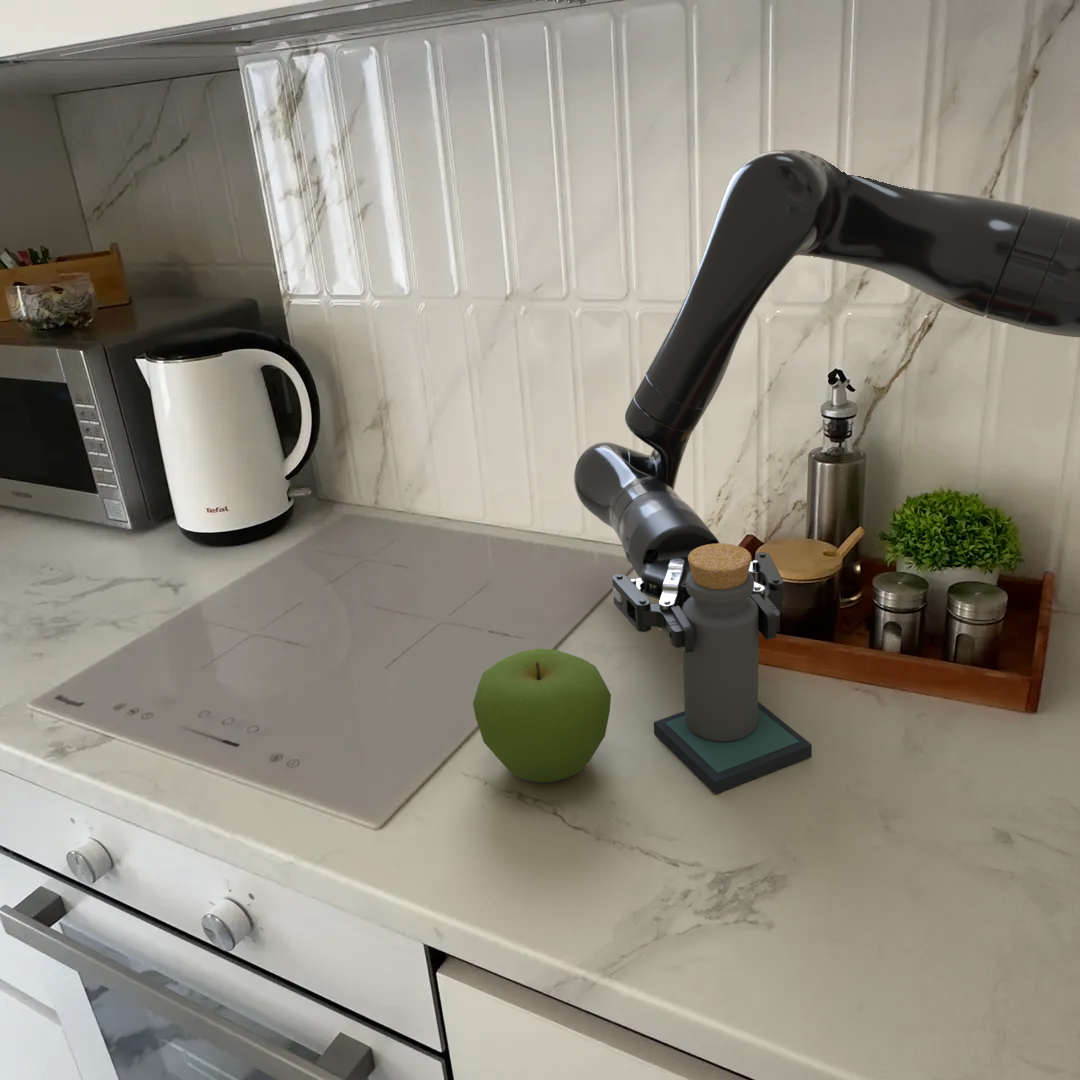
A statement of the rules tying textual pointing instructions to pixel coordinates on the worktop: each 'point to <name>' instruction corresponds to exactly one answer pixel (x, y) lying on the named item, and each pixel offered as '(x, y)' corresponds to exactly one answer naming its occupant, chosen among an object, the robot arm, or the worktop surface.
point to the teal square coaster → (734, 750)
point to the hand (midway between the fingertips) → (731, 635)
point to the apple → (542, 713)
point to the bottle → (721, 644)
